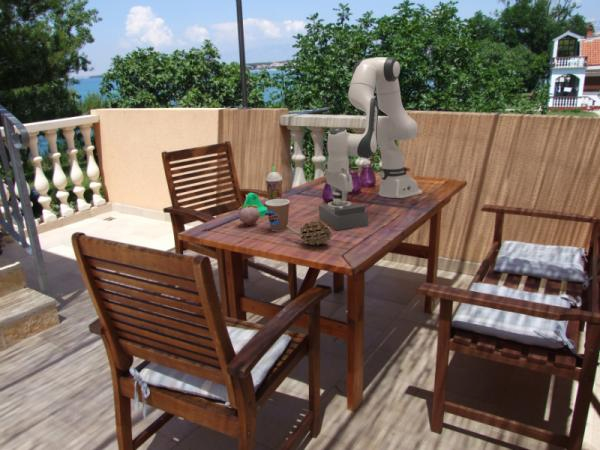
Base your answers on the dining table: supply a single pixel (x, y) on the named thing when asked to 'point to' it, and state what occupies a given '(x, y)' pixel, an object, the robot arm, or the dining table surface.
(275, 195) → the smoothie
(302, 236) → the pine cone
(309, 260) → the dining table surface
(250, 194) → the camera mount
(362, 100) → the robot arm
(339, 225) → the camera body
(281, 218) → the coffee cup
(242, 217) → the decorative fruit
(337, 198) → the lens
